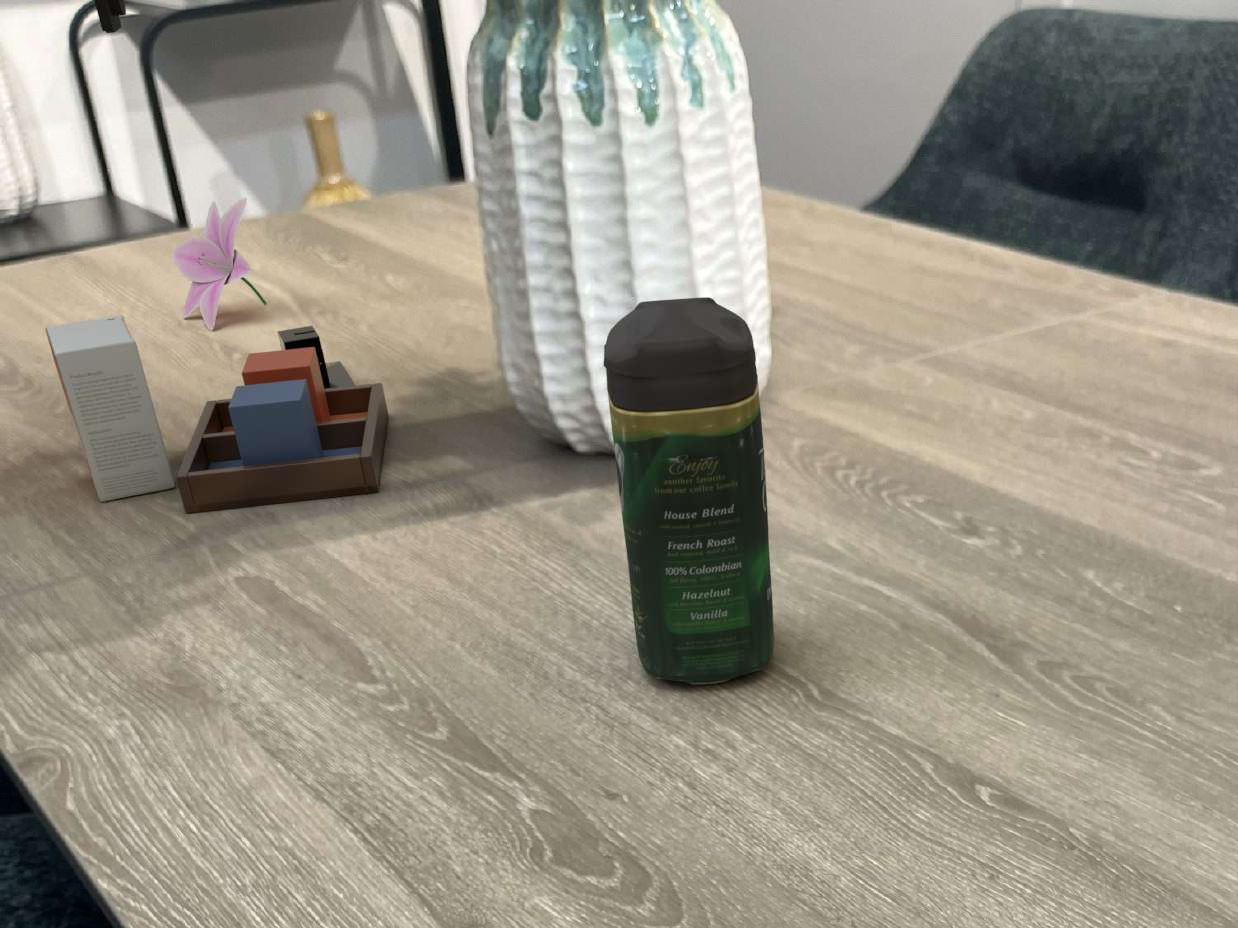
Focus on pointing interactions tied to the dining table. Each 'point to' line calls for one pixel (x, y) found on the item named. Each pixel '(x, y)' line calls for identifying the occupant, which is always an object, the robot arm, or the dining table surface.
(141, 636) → the dining table surface
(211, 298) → the lily
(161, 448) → the small box
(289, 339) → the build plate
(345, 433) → the sorting tray
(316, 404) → the terracotta block
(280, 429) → the blue block
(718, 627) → the coffee jar
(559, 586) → the dining table surface
